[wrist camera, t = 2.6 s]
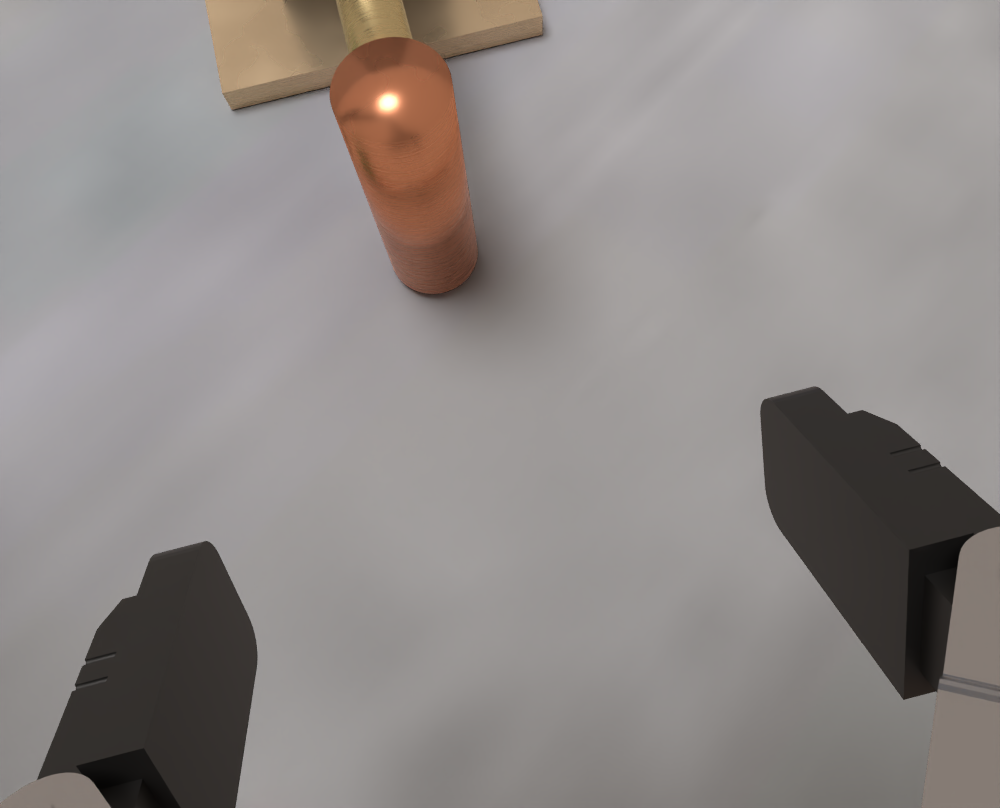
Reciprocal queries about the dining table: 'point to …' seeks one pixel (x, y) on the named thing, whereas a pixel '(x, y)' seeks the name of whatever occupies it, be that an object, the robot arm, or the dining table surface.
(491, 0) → the slotted upright stand
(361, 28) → the copper and brass hammer
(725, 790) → the dining table surface
